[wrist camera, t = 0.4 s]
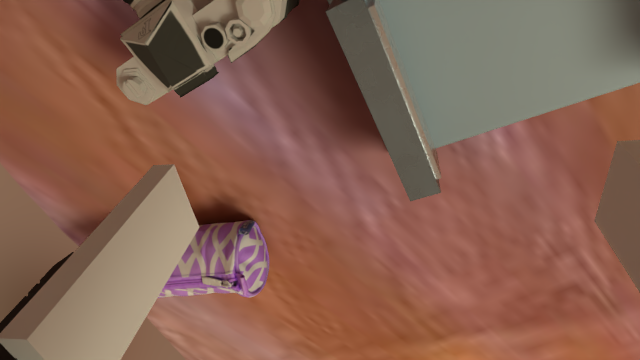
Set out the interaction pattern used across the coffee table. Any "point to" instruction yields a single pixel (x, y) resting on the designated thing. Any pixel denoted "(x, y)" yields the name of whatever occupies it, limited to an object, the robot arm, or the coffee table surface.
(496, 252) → the coffee table surface
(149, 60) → the camera
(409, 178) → the sliding jaw
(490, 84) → the vise
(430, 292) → the coffee table surface
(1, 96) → the coffee table surface
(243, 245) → the pencil case
